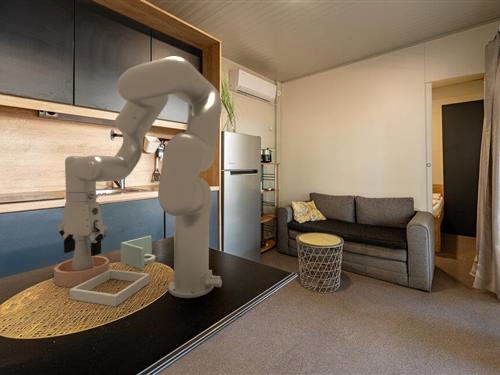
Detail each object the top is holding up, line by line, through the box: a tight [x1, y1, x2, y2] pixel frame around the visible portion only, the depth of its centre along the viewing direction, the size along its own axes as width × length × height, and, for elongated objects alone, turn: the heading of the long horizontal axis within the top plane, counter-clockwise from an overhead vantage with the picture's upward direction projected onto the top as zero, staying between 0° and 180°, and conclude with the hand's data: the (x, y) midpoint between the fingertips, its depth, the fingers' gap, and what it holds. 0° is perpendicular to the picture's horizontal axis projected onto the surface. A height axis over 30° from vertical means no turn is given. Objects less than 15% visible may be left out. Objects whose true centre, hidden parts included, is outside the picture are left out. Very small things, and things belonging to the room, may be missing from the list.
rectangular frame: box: [69, 268, 151, 307], centre depth 68 cm, size 14×14×2 cm
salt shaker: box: [72, 234, 94, 272], centre depth 76 cm, size 6×6×13 cm
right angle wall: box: [120, 235, 157, 271], centre depth 91 cm, size 12×12×8 cm
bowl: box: [53, 255, 111, 288], centre depth 76 cm, size 14×14×4 cm
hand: (82, 253), depth 76 cm, fingers open, 9 cm apart
